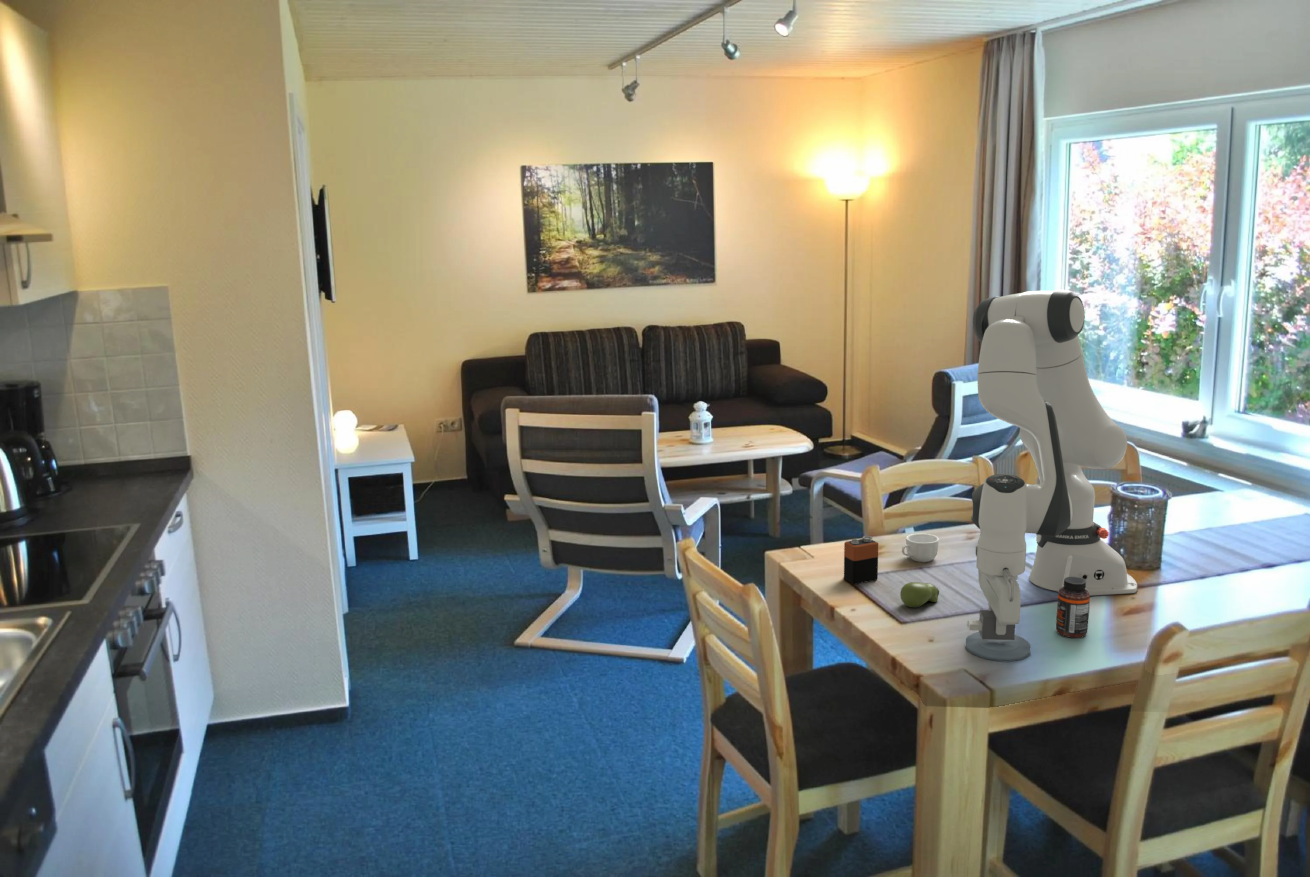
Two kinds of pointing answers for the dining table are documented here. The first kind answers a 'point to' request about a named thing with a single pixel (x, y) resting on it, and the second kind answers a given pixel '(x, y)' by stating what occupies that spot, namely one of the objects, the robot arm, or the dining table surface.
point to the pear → (918, 593)
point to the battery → (861, 560)
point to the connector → (990, 627)
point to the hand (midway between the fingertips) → (997, 628)
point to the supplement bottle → (1073, 608)
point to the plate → (998, 648)
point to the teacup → (921, 547)
